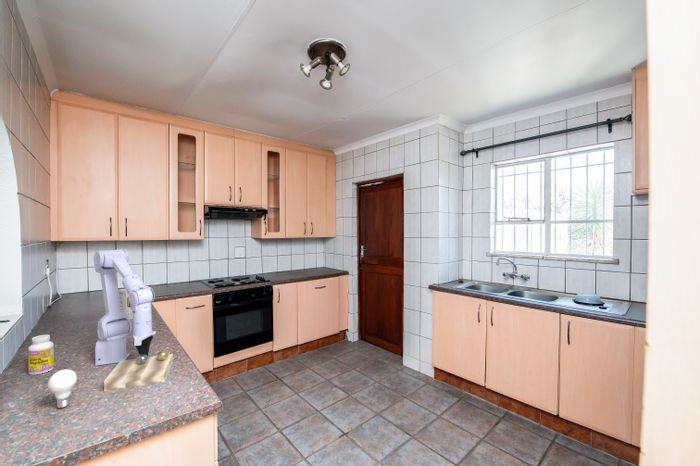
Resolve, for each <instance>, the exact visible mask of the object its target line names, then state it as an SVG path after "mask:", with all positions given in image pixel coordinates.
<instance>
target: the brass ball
mask: <svg viewBox="0 0 700 466" xmlns="http://www.w3.org/2000/svg"><path fill="white" fill-rule="evenodd" d="M168 354H169V352H168V351H167V350H164V349H163V350H160V351H159V352H158V353H157V355H156V356H157V358H158V359H159V360H165V359H166V358H167V357H168Z"/></svg>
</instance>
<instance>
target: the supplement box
mask: <svg viewBox="0 0 700 466" xmlns="http://www.w3.org/2000/svg"><path fill="white" fill-rule="evenodd" d="M118 293H119V300H120V307H121V312H123V313H125V314H127V315H128V316H129V319H130V321H131V320H133V311H132V310H131V305H130V303H129V294H128V292H127V291H126V289H125V288H121V289H118Z"/></svg>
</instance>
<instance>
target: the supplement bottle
mask: <svg viewBox="0 0 700 466" xmlns="http://www.w3.org/2000/svg"><path fill="white" fill-rule="evenodd" d="M50 340H51V336H50V334H40V335H37V336H33V337H32V338H31V343H32V344H31V345H29V346H28V349H27V353H28V356H27V360H28V361H27V362H28V364H27V365H28V366H27V367H28V369H27V370H28V374H29V376H30V375H31V376H35V375H36V376H37V374H38V375H41V374H42V373H43V374H46V373H48V371H49V372H50V371H53V369H54V368H55V354H54V353H55V346H54V342H53V341H50ZM43 374H42V375H43Z"/></svg>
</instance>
